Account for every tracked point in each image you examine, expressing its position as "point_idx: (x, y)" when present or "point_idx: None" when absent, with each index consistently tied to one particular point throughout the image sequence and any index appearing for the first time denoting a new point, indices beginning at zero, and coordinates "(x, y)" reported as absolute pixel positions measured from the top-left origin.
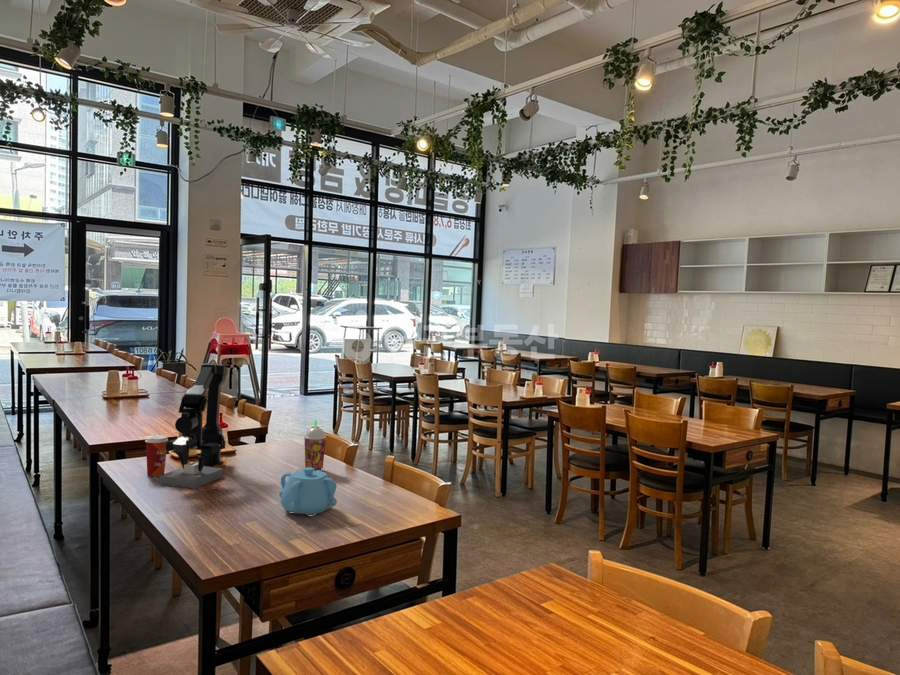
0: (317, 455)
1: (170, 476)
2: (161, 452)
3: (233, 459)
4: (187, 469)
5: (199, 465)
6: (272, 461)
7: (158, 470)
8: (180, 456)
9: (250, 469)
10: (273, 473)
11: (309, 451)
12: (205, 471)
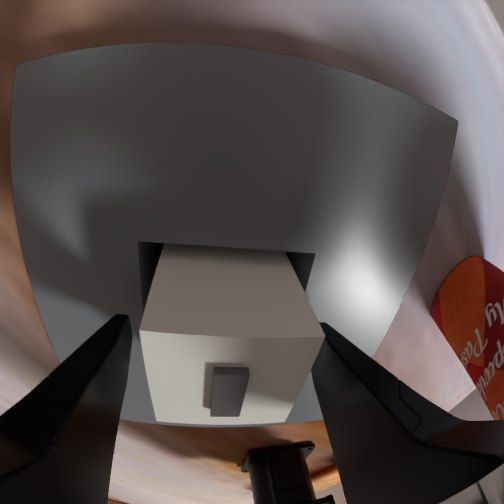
0: None
1: (368, 92)
2: None
3: (231, 479)
4: (252, 294)
5: (84, 356)
6: (114, 476)
7: (473, 289)
8: (428, 424)
9: None
10: (6, 407)
11: None
12: None
